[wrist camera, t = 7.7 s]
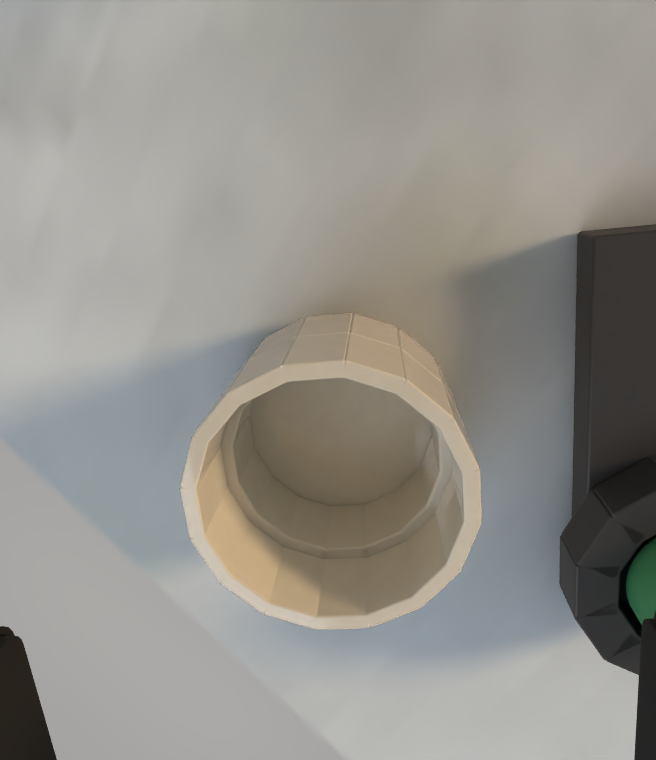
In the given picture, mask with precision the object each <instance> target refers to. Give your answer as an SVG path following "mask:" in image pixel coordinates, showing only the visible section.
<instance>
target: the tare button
mask: <svg viewBox="0 0 656 760" xmlns="http://www.w3.org/2000/svg"><path fill="white" fill-rule="evenodd" d="M626 594H627V599H628V601H629V604H630V606H631V608H632V610H633V611H634V613H635V615H636V616H637V618H638V620H639V621H640V623H641V625H642V623H643V621H644V619H650V618H654V613H655V611H656V537H655V538H654V539H652V540H651V541H650V542H648V543H647V544H646V545H645V546H644V547H643V548H642V549H641V550H640V551H639V553H638V554H637V555H636V556H635V558H634V560H633V561H632V563H631V565H630V568H629V570H628V574H627V579H626Z"/></svg>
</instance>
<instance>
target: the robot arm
mask: <svg viewBox="0 0 656 760" xmlns="http://www.w3.org/2000/svg"><path fill="white" fill-rule="evenodd" d="M0 760H57V759H56V755H55V752H54V749H53V745H52V742H51V738H50V735H49V731H48V728H47V724H46V721H45V717H44V714H43V710H42V707H41V704H40V700H39V696H38V693H37V689H36V686H35V683H34V679H33V675H32V672H31V669H30V665H29V662H28V658H27V655H26V651H25V648H24V644H23V642H22V640H21V639H20V638H19V637H17V636H15V635H14V633H13V631H12V630H11V629H10V628H9V627H4V626H3V627H0ZM635 760H656V611H655V613H654V618H650V619H644V621H643V623H642V631H641V650H640V668H639V686H638V705H637V723H636V742H635Z"/></svg>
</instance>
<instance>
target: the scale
mask: <svg viewBox="0 0 656 760" xmlns="http://www.w3.org/2000/svg"><path fill="white" fill-rule="evenodd" d="M655 537H656V225H645V226H634V227H624V228H613V229H603V230H592V231H581V232H579V233H578V245H577V294H576V343H575V392H574V442H573V491H572V519H571V520H570V522H569V523H568V525H567V526H566V528H565V529H564V531H563V532H562V535H561V536H560V587H561V589H562V591H563V593H564V596H565V598H566V600H567V602H568V604H569V607H570V609H571V611H572V613H573V615H574V618H575V620H576V621H577V622H578V624H579V625H580V627H581V628H582V629H583V631H584V632H585V634H586V635H587V636H588V638H589V639H590V641H591V642H592V643H593V645H594V646H595V648H596V649H597V651H598V652H599V653H600V655H601V656H602V658H603V659H604V660H606V661H608V662H610V663H612V664H614V665H617V666H619V667H621V668H624V669H626V670H628V671H631V672H633V673H635V674H638V675H639V668H640V650H641V631H642V625H641V623H640V621H639V620H638V618H637V616H636V615H635V613H634V611H633V610H632V608H631V606H630V604H629V601H628V599H627V594H626V579H627V574H628V570H629V568H630V565H631V563H632V561H633V560H634V558H635V556H636V555H637V554H638V553H639V551H640V550H641V549H642V548H643V547H644V546H645V545H646V544H647V543H648V542H650V541H651V540H652V539H654V538H655Z"/></svg>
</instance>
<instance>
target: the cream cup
mask: <svg viewBox="0 0 656 760" xmlns="http://www.w3.org/2000/svg"><path fill="white" fill-rule="evenodd" d="M180 492H181V498H182V503H183V508H184V513H185V518H186V524H187V529H188V534H189V538H190V540H191V542H192V543H193V545H194V546H195V548H196V549H197V551H198V552H199V554H200V555H201V557H202V558H203V560H204V561H205V563H206V564H207V566H208V567H209V569H210V570H211V572H212V573H213V575H214V576H215V578H216V579H217V581H218V582H220V584H221V585H223V586H224V587H226V588H227V589H228V590H230V591H231V592H233V593H234V594H235V595H237V596H238V597H240V598H241V599H242V600H244V601H245V602H246V603H248V604H249V605H251V606H252V607H253V608H255V609H256V610H258V611H259V612H260V613H264V615H267V616H271V617H274V618H277V619H281V620H284V621H287V622H291V623H294V624H297V625H301V626H304V627H307V628H311V629H316V630H328V629H357V628H370V627H374V626H377V625H380V624H382V623H385V622H387V621H390V620H392V619H395V618H397V617H400V616H403V615H405V614H408V613H410V612H413V611H415V610H418V609H420V608H421V607H423V606H424V605H425V604H426V603H427V602H428V601H430V600H431V599H432V598H433V597H434V596H435V595H436V594H437V593H438V592H439V591H440V590H441V589H443V588H444V587H445V586H446V585H447V584H448V583H449V582H450V581H451V580H452V579H453V578H455V577H456V576H457V575H458V574H459V572H460V571H461V569H462V567H463V565H464V563H465V560H466V558H467V556H468V554H469V551H470V549H471V547H472V544H473V542H474V540H475V538H476V535H477V533H478V531H479V528H480V526H481V522H482V513H481V479H480V469H479V465H478V462H477V459H476V457H475V454H474V451H473V449H472V446H471V443H470V440H469V438H468V435H467V432H466V429H465V427H464V425H463V421H462V419H461V416H460V413H459V410H458V408H457V405H456V402H455V399H454V397H453V394H452V392H451V390H450V388H449V386H448V384H447V382H446V380H445V378H444V376H443V374H442V372H441V370H440V368H439V366H438V364H437V362H436V360H435V359H434V358H433V356H432V355H431V354H430V353H429V352H428V351H426V350H425V349H424V348H423V347H422V346H420V345H419V344H418V343H417V342H416V341H414V340H413V339H412V338H411V337H410V336H408V335H407V334H406V333H405V332H404V331H402V330H401V329H400V328H397V327H396V326H393V325H390V324H387V323H384V322H380V321H377V320H374V319H371V318H368V317H364V316H361V315H358V314H352V313H342V314H331V315H319V316H307V317H306V318H302V319H300V320H298V321H296V322H294V323H293V324H291V325H289V326H287V327H285V328H283V329H281V330H279V331H277V332H275V333H273V334H271V335H269V336H267V337H266V339H263V341H262V342H261V343H260V344H259V346H258V347H257V348H256V349H255V350H254V352H253V353H252V354H251V355H250V357H249V358H248V359H247V360H246V362H245V363H244V364H243V365H242V366H241V368H240V369H239V370H238V372H237V373H236V374H235V376H234V377H233V379H232V380H231V381H230V383H229V384H228V386H227V387H226V388H225V390H224V391H223V393H222V394H221V395H220V397H219V398H218V400H217V401H216V402H215V404H214V405H213V407H212V408H211V409H210V411H209V412H208V414H207V415H206V417H205V418H204V419H203V421H202V422H201V424H200V425H199V426H198V428H197V429H196V431H195V432H194V433H193V436H192V438H191V442H190V446H189V450H188V454H187V458H186V462H185V466H184V470H183V474H182V478H181V482H180Z"/></svg>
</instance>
